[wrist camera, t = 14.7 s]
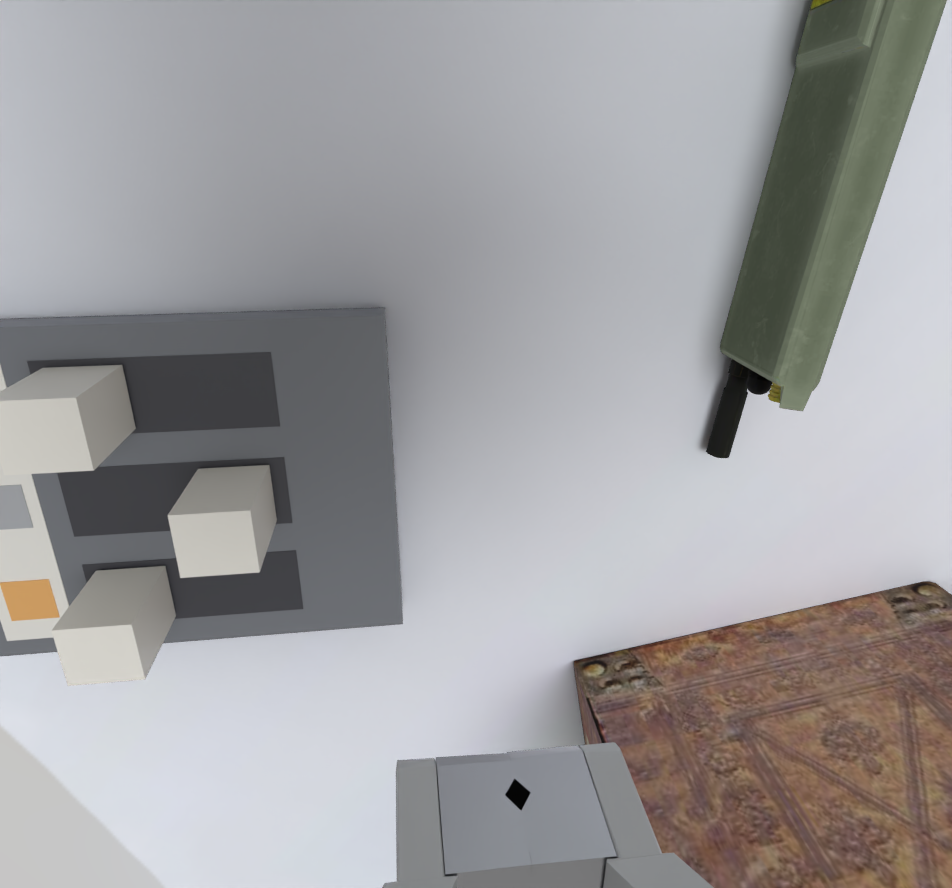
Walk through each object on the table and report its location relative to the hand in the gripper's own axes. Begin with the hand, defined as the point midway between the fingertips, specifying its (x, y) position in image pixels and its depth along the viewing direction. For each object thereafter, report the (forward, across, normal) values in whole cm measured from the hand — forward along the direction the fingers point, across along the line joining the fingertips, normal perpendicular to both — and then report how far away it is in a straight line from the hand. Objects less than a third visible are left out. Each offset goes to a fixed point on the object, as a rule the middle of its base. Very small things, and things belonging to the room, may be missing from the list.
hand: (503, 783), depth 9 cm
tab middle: (+25, +10, +8) cm, 28 cm away
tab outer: (+25, +16, +14) cm, 33 cm away
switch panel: (+28, +13, +8) cm, 31 cm away
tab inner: (+25, +16, +3) cm, 30 cm away
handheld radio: (+28, -18, -5) cm, 34 cm away
